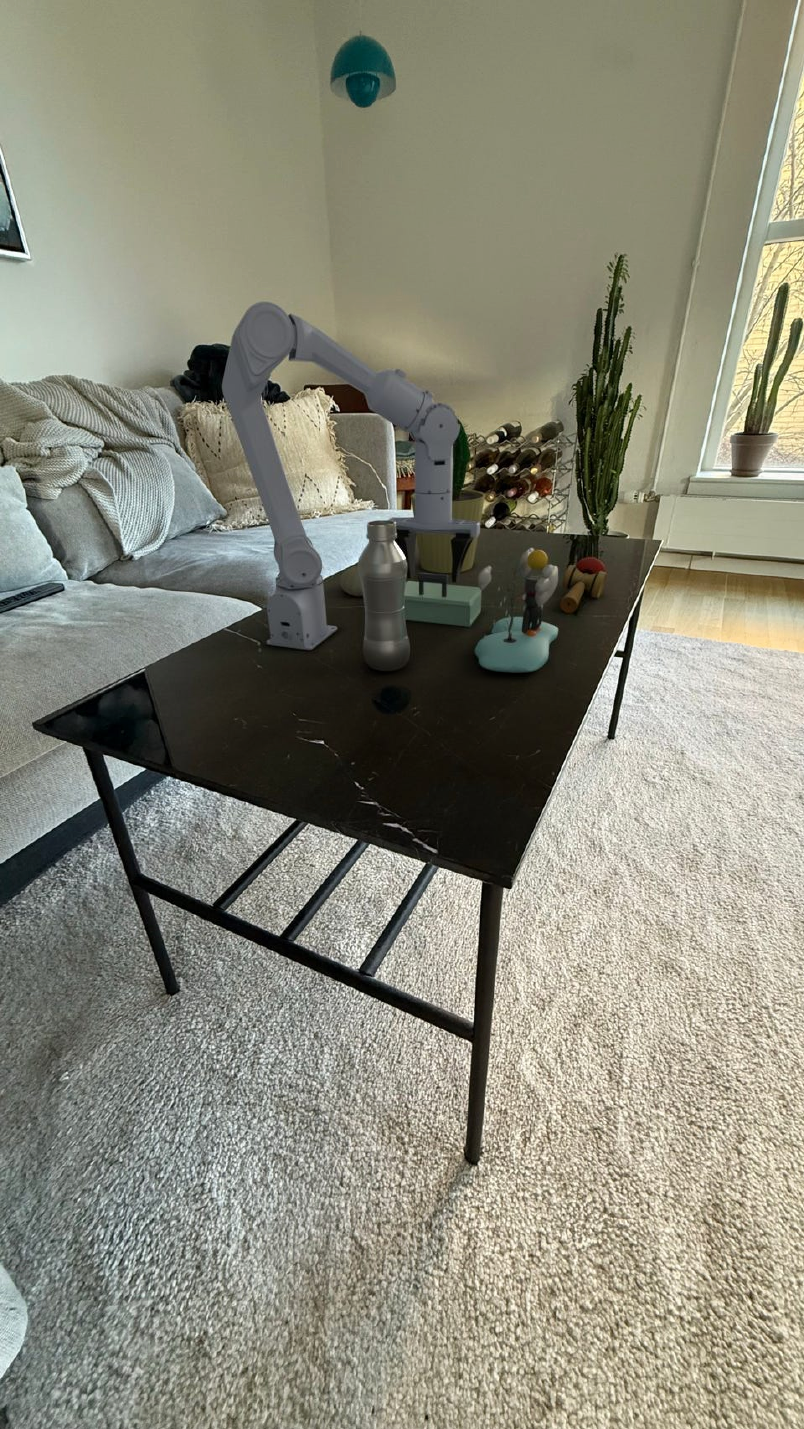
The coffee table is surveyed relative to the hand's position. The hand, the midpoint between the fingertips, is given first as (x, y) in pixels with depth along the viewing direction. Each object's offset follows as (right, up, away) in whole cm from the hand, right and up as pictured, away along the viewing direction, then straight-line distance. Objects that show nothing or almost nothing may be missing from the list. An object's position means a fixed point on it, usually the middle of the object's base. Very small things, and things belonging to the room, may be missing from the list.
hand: (433, 578), depth 97 cm
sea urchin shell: (-12, +1, +18) cm, 22 cm away
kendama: (+28, -1, +12) cm, 30 cm away
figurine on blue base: (+12, -13, -8) cm, 20 cm away
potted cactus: (+5, +10, +33) cm, 35 cm away
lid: (+1, -2, +4) cm, 4 cm away
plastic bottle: (-7, -16, -12) cm, 21 cm away
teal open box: (+1, -5, +6) cm, 8 cm away
